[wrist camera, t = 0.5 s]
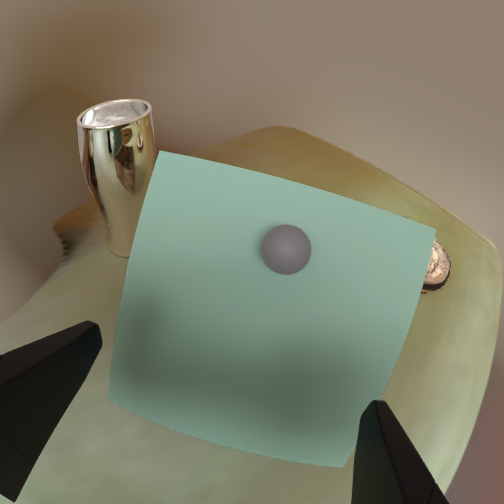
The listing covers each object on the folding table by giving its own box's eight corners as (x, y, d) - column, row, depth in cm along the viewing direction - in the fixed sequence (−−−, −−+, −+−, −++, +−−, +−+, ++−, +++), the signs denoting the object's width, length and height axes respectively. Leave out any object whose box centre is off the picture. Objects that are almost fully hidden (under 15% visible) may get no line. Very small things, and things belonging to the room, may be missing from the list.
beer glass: (126, 210, 34) (112, 95, 23) (172, 228, 33) (169, 102, 22) (91, 247, 30) (58, 124, 19) (139, 270, 29) (115, 133, 18)
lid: (339, 457, 14) (345, 480, 12) (115, 394, 15) (97, 410, 13) (426, 230, 13) (448, 228, 11) (166, 156, 14) (150, 142, 12)
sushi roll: (413, 323, 29) (433, 303, 26) (340, 234, 37) (351, 209, 34) (463, 281, 35) (479, 263, 32) (403, 214, 43) (414, 194, 40)
